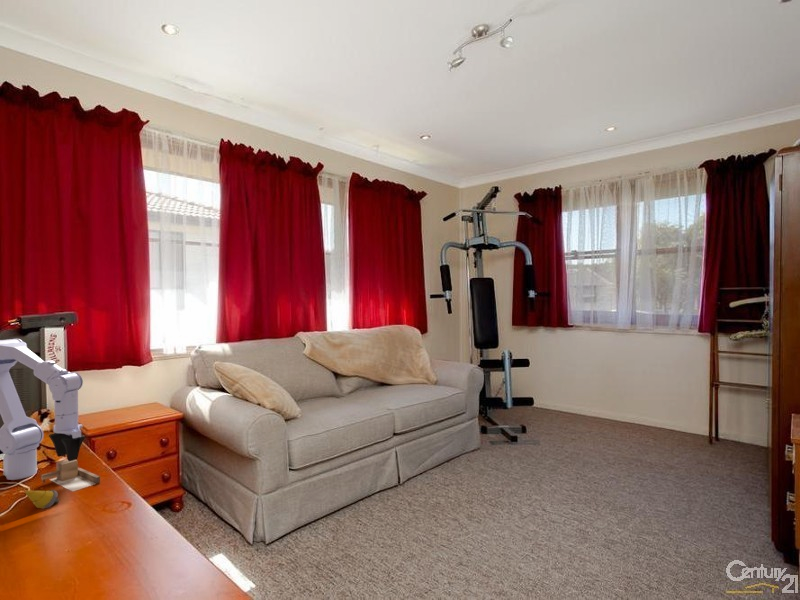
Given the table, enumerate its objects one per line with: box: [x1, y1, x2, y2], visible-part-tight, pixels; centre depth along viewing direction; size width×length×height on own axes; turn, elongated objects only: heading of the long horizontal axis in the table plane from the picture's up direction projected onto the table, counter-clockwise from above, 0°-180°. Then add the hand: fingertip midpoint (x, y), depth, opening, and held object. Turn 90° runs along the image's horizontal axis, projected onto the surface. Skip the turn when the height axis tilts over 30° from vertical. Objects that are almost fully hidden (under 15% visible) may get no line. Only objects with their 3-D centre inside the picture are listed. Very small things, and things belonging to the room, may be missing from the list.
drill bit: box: [23, 489, 61, 512], centre depth 114 cm, size 5×5×10 cm
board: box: [49, 466, 101, 493], centre depth 130 cm, size 16×7×3 cm, turn 57°
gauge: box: [40, 458, 79, 484], centre depth 131 cm, size 4×8×5 cm, turn 147°
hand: (67, 457), depth 133 cm, fingers open, 7 cm apart
